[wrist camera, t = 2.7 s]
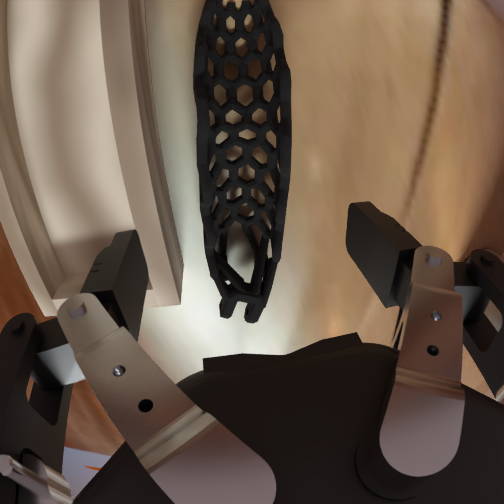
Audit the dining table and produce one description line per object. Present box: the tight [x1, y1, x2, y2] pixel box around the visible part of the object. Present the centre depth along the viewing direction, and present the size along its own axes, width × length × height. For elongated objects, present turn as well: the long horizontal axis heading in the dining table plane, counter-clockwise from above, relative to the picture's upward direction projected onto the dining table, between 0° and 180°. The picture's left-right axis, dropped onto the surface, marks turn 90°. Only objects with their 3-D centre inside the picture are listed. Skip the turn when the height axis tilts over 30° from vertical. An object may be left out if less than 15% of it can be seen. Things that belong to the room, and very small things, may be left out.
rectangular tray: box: [0, 0, 184, 316], centre depth 14 cm, size 11×27×4 cm, turn 4°
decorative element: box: [193, 0, 292, 323], centre depth 18 cm, size 22×5×6 cm, turn 1°
